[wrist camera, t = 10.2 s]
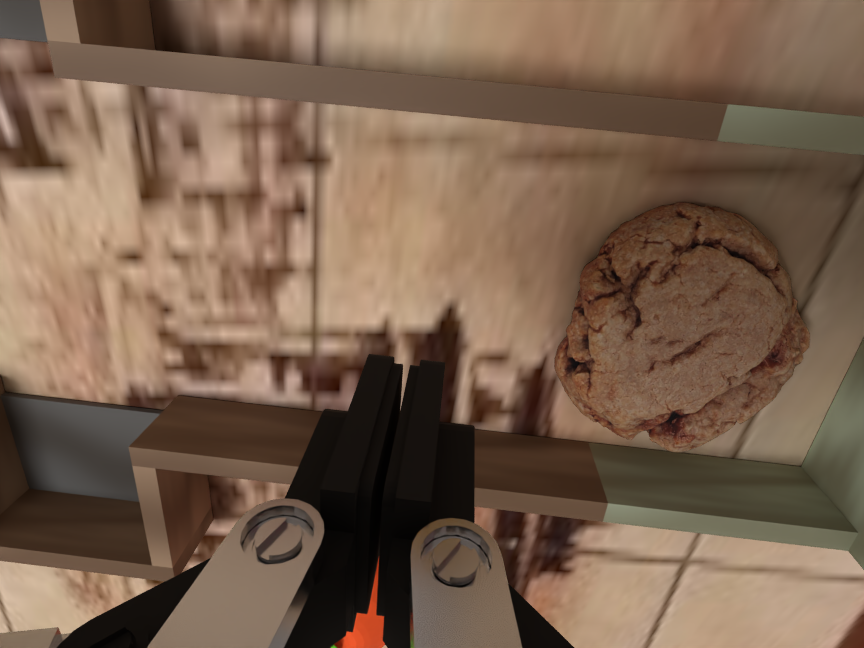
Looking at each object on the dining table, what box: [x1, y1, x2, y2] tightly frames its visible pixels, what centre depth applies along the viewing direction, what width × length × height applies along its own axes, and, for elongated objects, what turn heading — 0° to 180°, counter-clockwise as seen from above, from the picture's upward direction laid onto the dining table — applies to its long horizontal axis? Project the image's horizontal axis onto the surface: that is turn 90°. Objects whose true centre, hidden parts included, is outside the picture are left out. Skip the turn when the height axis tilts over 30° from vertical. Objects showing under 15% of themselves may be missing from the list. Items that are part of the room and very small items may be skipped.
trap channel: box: [0, 0, 864, 581], centre depth 19 cm, size 30×43×6 cm
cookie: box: [555, 202, 810, 452], centre depth 21 cm, size 10×11×3 cm
